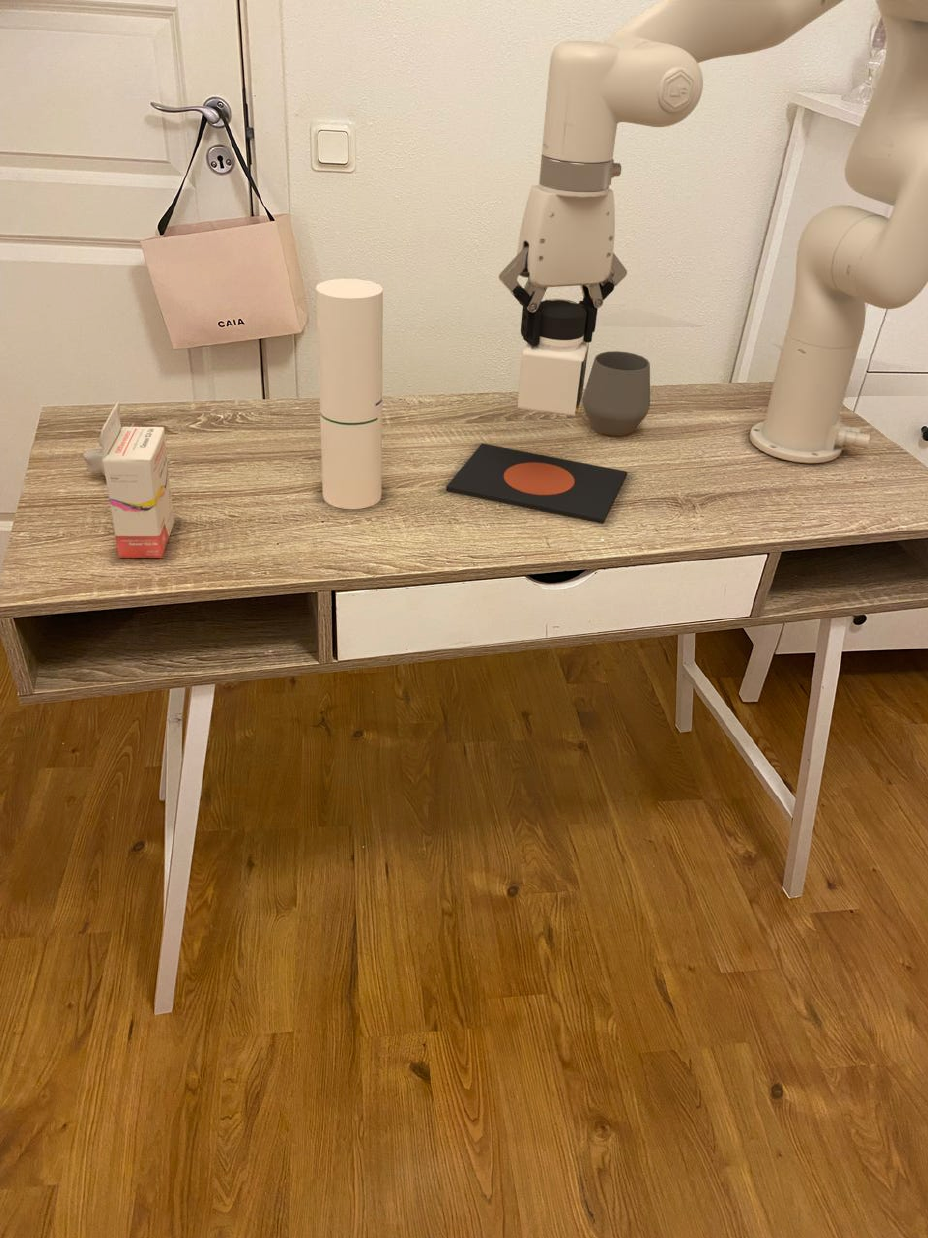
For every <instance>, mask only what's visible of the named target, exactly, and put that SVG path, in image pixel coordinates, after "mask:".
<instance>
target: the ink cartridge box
mask: <svg viewBox="0 0 928 1238" xmlns="http://www.w3.org/2000/svg"><path fill="white" fill-rule="evenodd" d="M120 405H121V404H120V401H116V403H115V405H114V407H113V409H112V410H111V412H110V414H109V415H108V417H107V419H106V420H105V422H104V425H103V426H102V428H101V432H100V434H101V437H102V446H101V449H102V453H103V465H104V471H105V476H104V477H105V482H106V487H107V488H106V489H107V494H108V500H109V507H110V513H111V518H112V524H113V530H114V537H115V541H116V548H117V553H118V558H119V559H163V558H164V554H165V551H166V549H167V545H168V542H169V539H170V537H171V534H172V530H173V527H174V525H175V515H174V509H173V508H174V507H173V506H174V505H173V498H172V497H173V496H172V490H171V480H170V471H169V461H168V454H167V443H166V434H165V427H163V426H121V425H122V424H121V406H120ZM113 422H114V426H113V429H112V430H111V432H110V434H109V430H110V428H111V423H113Z"/></svg>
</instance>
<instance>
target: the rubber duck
mask: <svg viewBox="0 0 928 1238" xmlns="http://www.w3.org/2000/svg"><path fill="white" fill-rule="evenodd" d="M113 426H114V422H113V423H111V428H110V430H109V434H110V432H111V430H112V429H113ZM98 444H99V446H100V447H102V437H101V433H100V435H99V440H98ZM82 458H83V460H84V461H85V462H86V470H87V472H89V473H92V474H96V473H101V474H102V475H103V476H104V477H105V471H104V465H103V453H102V448H101V449H100V450H98V449H89V450H86V451H85V452H84V453H83V454H82Z"/></svg>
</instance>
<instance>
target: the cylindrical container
mask: <svg viewBox="0 0 928 1238" xmlns="http://www.w3.org/2000/svg"><path fill="white" fill-rule="evenodd" d="M315 293H316V294H315V296H316V298H315V299H316V325H317V326H316V327H317V331H316V332H317V359H318V361H317V363H318V393H319V395H318V396H319V397H318V398H319V423H320V424H319V425H320V427H319V428H320V453H321V454H320V455H321V457H320V458H321V484H322V485H321V486H322V487H321V489H322V498H323V500H324V502H325V503H327V504H328V505H329V506H332V507H335V508H338V509H343V510H360V509H366V508H369V507H372V506H375V505H376V504H378V503H379V502H380V501H381V499H382V494H383V493H382V485H383V483H382V478H383V477H382V476H383V475H382V473H383V472H382V471H383V469H382V467H383V466H382V465H383V464H382V463H383V459H382V457H383V456H382V455H383V320H384V319H383V318H384V316H383V315H384V314H383V311H384V310H383V309H384V307H383V306H384V304H383V303H384V301H383V300H384V298H383V297H384V289H383V286H381V285H380V284H379V283H376V282H374V281H371V280H366V279H359V278H334V279H329V280H325V281H321V282H319V283H318V284H317V285H316V287H315Z"/></svg>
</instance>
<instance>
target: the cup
mask: <svg viewBox="0 0 928 1238" xmlns="http://www.w3.org/2000/svg"><path fill="white" fill-rule="evenodd" d="M581 400H582V401H581V402H582V407H583V411H584V413H585V415H586V417H587V420H588V423H589V426H590V428H591V429H593V430H594V431H595V432H597V433H599V434H602V435H606V436H609V437H610V436H612V437H621V436H622V437H623V436H628V435H630V434H632V433H633V432H635V431H636V430H637V428H638V427H639V426H640V425H641V423H642V422H643V421H644V419H645V418H646V417H647V416H648V413H649V410H650V407H651V364H650V361H649V360H648V359H647V358H645V357H644V356H642V355H640V354H636V353H633V352H628V351H618V350H615V351H614V350H613V351H612V350H611V351H604V352H600V353H598V354H596V355H595V357H594V359H593V362H592V366H591V369H590V372H589V375H588V378H587V383H586V385H585V389H584V392H583V394H582V398H581Z"/></svg>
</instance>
